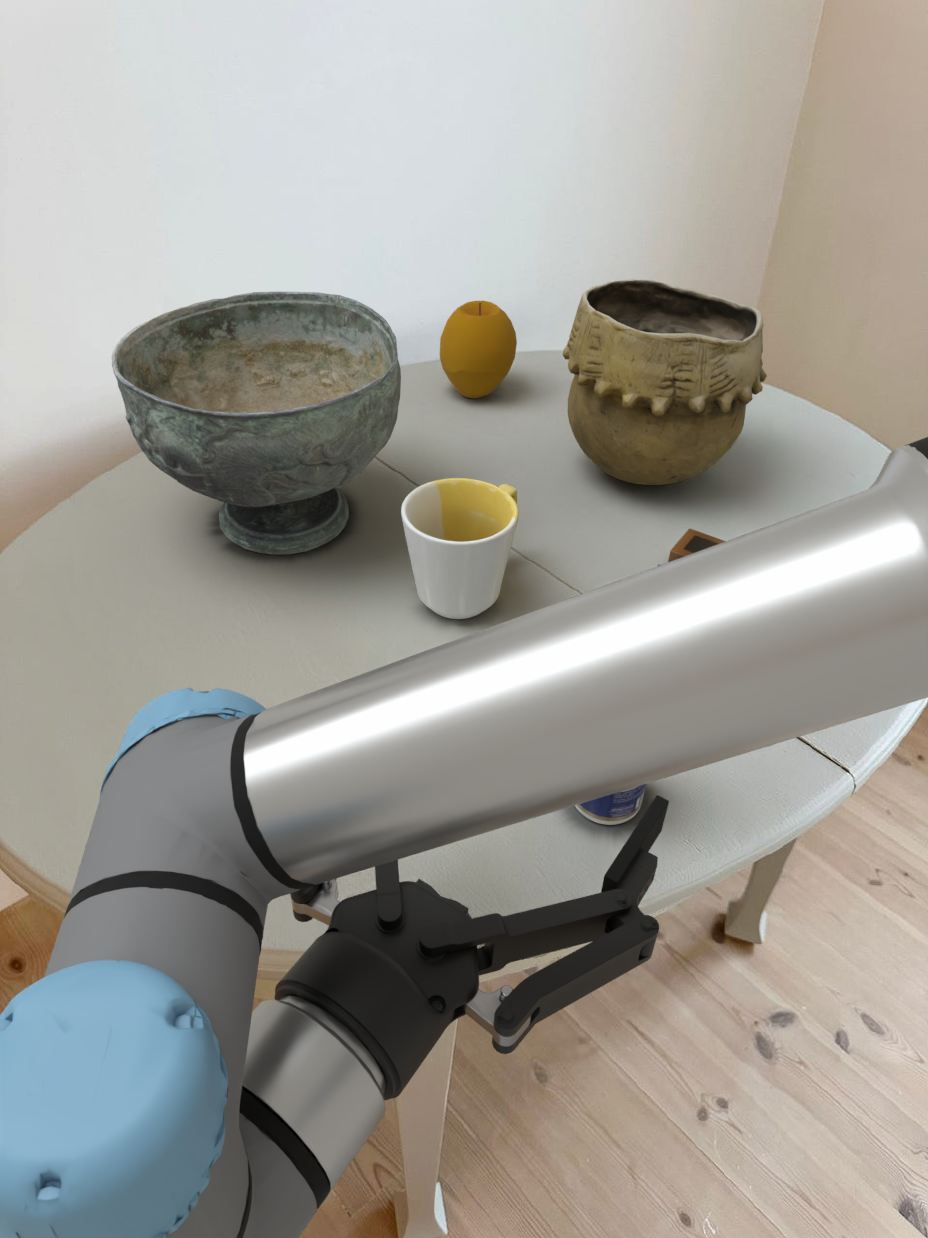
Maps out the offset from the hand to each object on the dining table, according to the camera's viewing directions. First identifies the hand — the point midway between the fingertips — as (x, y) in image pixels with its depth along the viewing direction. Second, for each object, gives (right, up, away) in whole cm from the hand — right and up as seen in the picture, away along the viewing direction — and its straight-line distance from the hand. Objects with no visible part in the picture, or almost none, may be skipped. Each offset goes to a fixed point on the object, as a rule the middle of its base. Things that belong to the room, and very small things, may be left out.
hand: (556, 760), depth 57 cm
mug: (-5, +11, +34) cm, 36 cm away
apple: (-4, +37, +65) cm, 75 cm away
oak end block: (+17, +12, +35) cm, 41 cm away
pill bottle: (+5, -5, +15) cm, 17 cm away
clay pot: (+15, +25, +51) cm, 59 cm away
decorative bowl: (-25, +19, +43) cm, 53 cm away
